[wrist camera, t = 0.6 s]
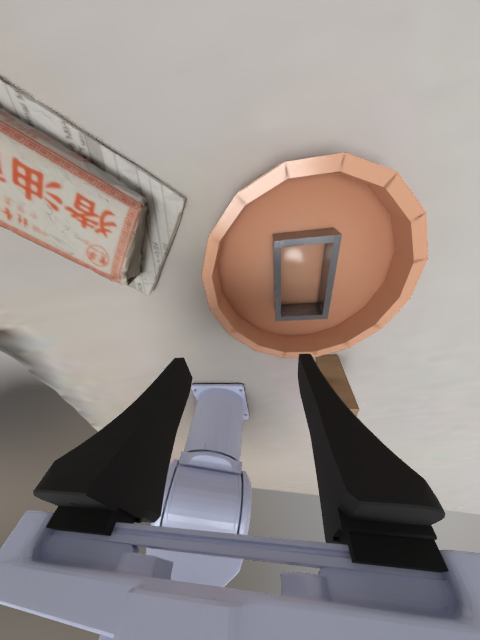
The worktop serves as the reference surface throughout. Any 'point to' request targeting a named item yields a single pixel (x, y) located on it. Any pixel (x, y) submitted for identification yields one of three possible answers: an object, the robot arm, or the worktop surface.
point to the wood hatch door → (337, 379)
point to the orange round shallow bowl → (316, 254)
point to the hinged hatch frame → (327, 274)
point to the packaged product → (81, 195)
